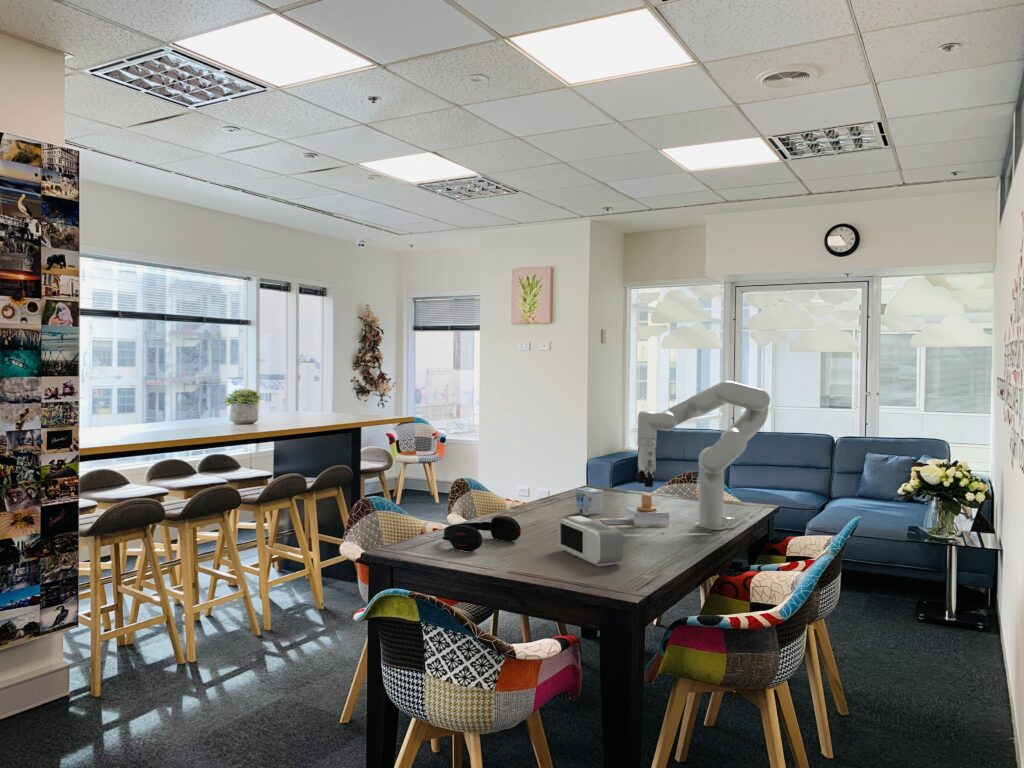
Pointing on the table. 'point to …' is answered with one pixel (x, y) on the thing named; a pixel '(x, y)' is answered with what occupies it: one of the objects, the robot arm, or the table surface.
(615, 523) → the plate
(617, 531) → the alarm clock
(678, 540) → the table surface
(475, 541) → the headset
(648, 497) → the end cover
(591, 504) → the light bulb box
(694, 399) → the robot arm
